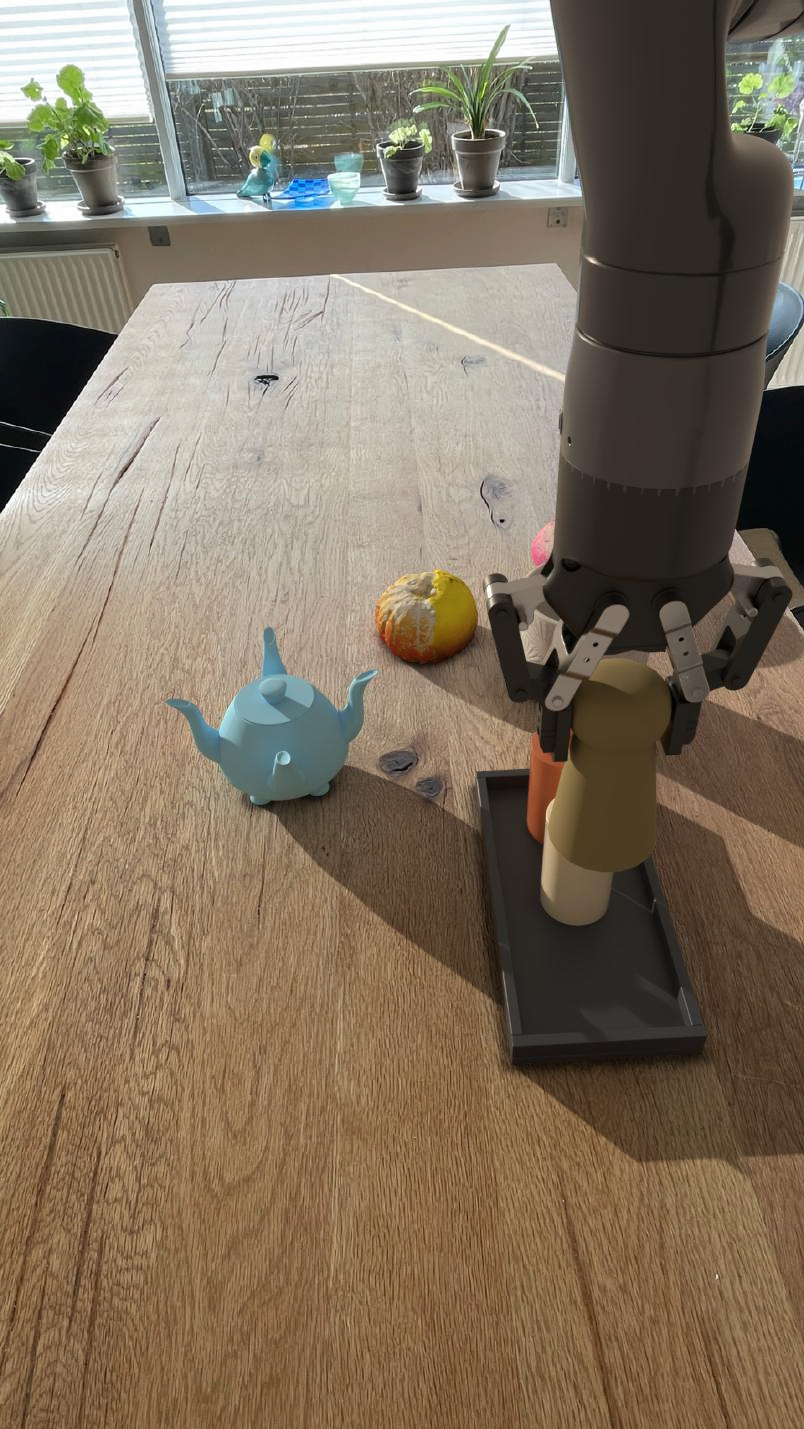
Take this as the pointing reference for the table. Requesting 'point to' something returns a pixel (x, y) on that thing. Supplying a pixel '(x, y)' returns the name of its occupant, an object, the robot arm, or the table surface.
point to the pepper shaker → (611, 768)
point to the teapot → (279, 732)
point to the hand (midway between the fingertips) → (613, 746)
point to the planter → (542, 632)
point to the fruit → (426, 617)
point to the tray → (580, 952)
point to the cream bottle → (571, 887)
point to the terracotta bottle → (541, 787)
